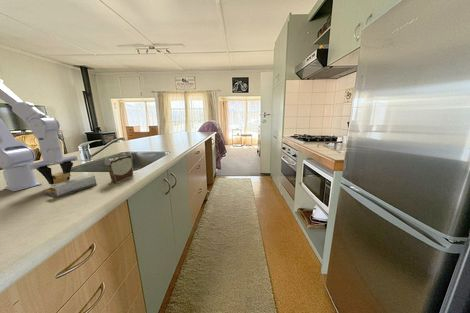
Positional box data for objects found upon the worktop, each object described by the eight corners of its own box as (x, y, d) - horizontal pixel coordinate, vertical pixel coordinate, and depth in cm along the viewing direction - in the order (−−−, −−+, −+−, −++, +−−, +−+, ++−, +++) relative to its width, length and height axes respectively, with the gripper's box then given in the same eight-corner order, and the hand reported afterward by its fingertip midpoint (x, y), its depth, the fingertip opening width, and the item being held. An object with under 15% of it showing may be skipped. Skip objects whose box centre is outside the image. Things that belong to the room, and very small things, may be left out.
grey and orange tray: (44, 193, 66) (41, 183, 65) (81, 182, 77) (79, 173, 76) (59, 197, 62) (56, 186, 61) (96, 184, 73) (94, 175, 72)
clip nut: (52, 186, 72) (48, 174, 71) (66, 182, 76) (63, 171, 75) (59, 188, 70) (55, 176, 69) (72, 184, 74) (69, 172, 73)
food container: (124, 174, 86) (120, 153, 83) (135, 174, 84) (132, 153, 82) (100, 183, 74) (95, 160, 72) (113, 184, 73) (108, 160, 70)
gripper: (29, 153, 63) (40, 189, 66) (78, 146, 76) (85, 177, 79) (20, 152, 65) (31, 187, 68) (69, 145, 78) (76, 175, 81)
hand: (59, 181), depth 74 cm, fingers closed on clip nut, 4 cm apart
